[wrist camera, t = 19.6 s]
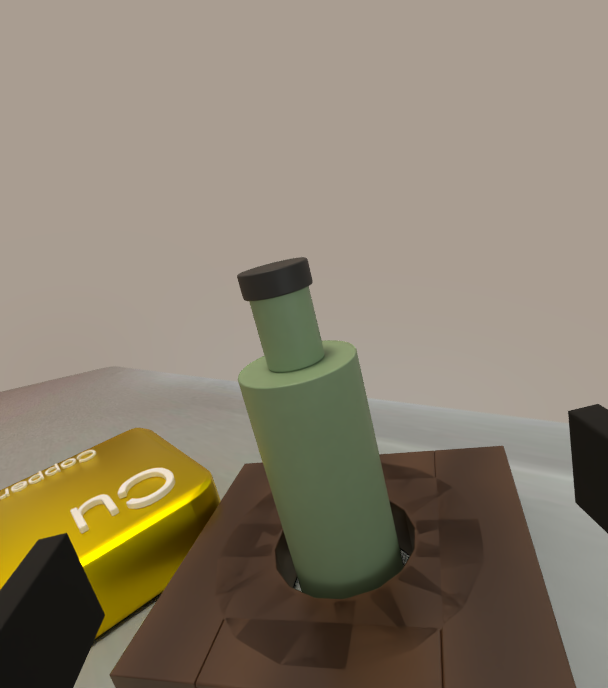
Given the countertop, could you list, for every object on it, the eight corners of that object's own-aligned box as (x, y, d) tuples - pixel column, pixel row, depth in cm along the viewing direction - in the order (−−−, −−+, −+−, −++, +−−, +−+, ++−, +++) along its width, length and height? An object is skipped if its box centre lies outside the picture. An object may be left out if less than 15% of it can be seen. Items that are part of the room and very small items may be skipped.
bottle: (409, 550, 23) (345, 244, 19) (405, 640, 19) (319, 263, 14) (318, 550, 25) (238, 267, 20) (293, 634, 20) (184, 292, 16)
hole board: (509, 490, 26) (503, 445, 25) (593, 797, 13) (587, 723, 12) (256, 501, 30) (244, 463, 30) (135, 729, 18) (108, 674, 17)
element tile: (158, 465, 39) (140, 416, 38) (243, 538, 27) (221, 471, 26) (-45, 573, 31) (-78, 516, 29) (-51, 746, 19) (-106, 663, 18)
